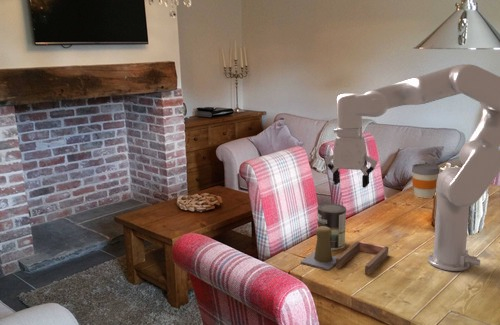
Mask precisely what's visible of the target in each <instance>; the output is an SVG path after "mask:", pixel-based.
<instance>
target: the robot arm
mask: <svg viewBox="0 0 500 325" xmlns="http://www.w3.org/2000/svg"><path fill="white" fill-rule="evenodd" d="M460 94H462V95H465V96H467V97H469V98H470V99H472V100H474V101H476V102H478V103H479V104H480V106H481V108H482V111H481V112H482V114H481V118H480V120H479V122H478V124H477V125H476V127H475V129H474V130H473V132H472V133H471V135H470V136H469V137H468V139H467V140H466V141H465V143H464V144H463V146H462V147H461V148H460V150H459V153H458V159H459V161H460V163H461V164H462V167H461V168H459V167H448V168H445V169H444V170H443V171H441V172H439V174H438V179H437V183H436V189H435V192H436V211H435V213H436V214H435V224H434V225H435V226H434V238H433V240H434V242H433V253H429V255H428V256H427V262H428V263H429V264H430V265H431V266H433V267H434V268H435V267H436V268H437V269H439V270H443V271H449V272H451V271H452V272H461V271H466V270H468V269H469V268H470V267H471V265H474V266H478V267H479V266H480V265H481V259H478V256H474V255H470V254H469V250H468V249H467V241H468V240H467V239H468V231H469V230H468V229H469V218H470V207H471V206H473V205H474V204H476V203H477V202H478V201H479V200H480V199H481V198H482V196H484V194H485V193H486V191H487V189H488V188H489V187H490V186H491V184H493V182H494V180H495V179H496V178H497V177H498V175H499V174H500V149H499V148H500V76H499V75H497V74H495V73H493V72H491V71H488V70H486V69H485V68H482V67H480V66H478V65H475V64H471V63H470V64H469V63H468V64H465V63H463V64H457V65H452V66H450V67H446V68H443V69H438V70H436V71H433V72H430V73H429V72H428V73H427V74H423V75H419V76H415V77H413V78H412V77H411V78H409V79H406V80H403V81H400V82H396V83H393V84H391V83H390V84H388V85H385V86H382V87H378V88H376V89H375V88H374V89H372V90H368V91H367V92H365V93H363V94H359V93H342V94H339V95H338V96H337V98H336V107H337V108H336V109H337V110H336V112H337V113H336V114H337V119H336V120H337V128H334V130H333V132H334V134H336V135H337V136H336V137H335V138H334V139H335V140H334V144H333V154H332V155H330V156H328V157H326V158H325V159H324V161H325V163H326V165H327V168H328V169H329V170H330V172H331V173H332V181H333V184H334V185H335V186H337V185H338V184H340V183H341V177H340V176H341V172H340V171H339V169H342V170H353V171H356V170H357V171H358V170H360V172H361V173H362V174H363V175H362V176H361V180H362V181H361V184H362V188H363V189H364V188H367V187H368V186H369V184H370V174H371V173H372V172H373V171H374V170H375V169H376V166H377V165H378V161H377V160H376V159H374V158H372V157H370V155H368V151H367V146H366V141H365V137H364V136H363V121H362V119H363V117H370V118H377V117H378V118H379V117H381V116H383V115H384V114H386V112H387V111H388V110H389V109H392V108H397V107H401V106H412V105H413V106H417V105H425V104H428V103H433V102H436V101H439V100H442V99H443V100H444V99H445V98H448V97H453V96H456V95H460ZM368 163H369V164H370V166H369V167H368V166H367V165H368Z"/></svg>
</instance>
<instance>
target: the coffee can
mask: <svg viewBox="0 0 500 325" xmlns="http://www.w3.org/2000/svg"><path fill="white" fill-rule="evenodd" d="M316 209H317V217H316V218H317V219H316V220H317V223H316V224H317V226H316V227H317V228H318V227H320V226H326V227H329V228H330V229H331V232H332V233H331V236H330V244H331V251H338V250H341V249H344V248H345V247H346V224H347V223H346V221H347V220H346V217H347V207H346V206H345V205H342V204H338V203H322V204H320V205H318V206H316ZM317 228H316V229H317Z"/></svg>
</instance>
